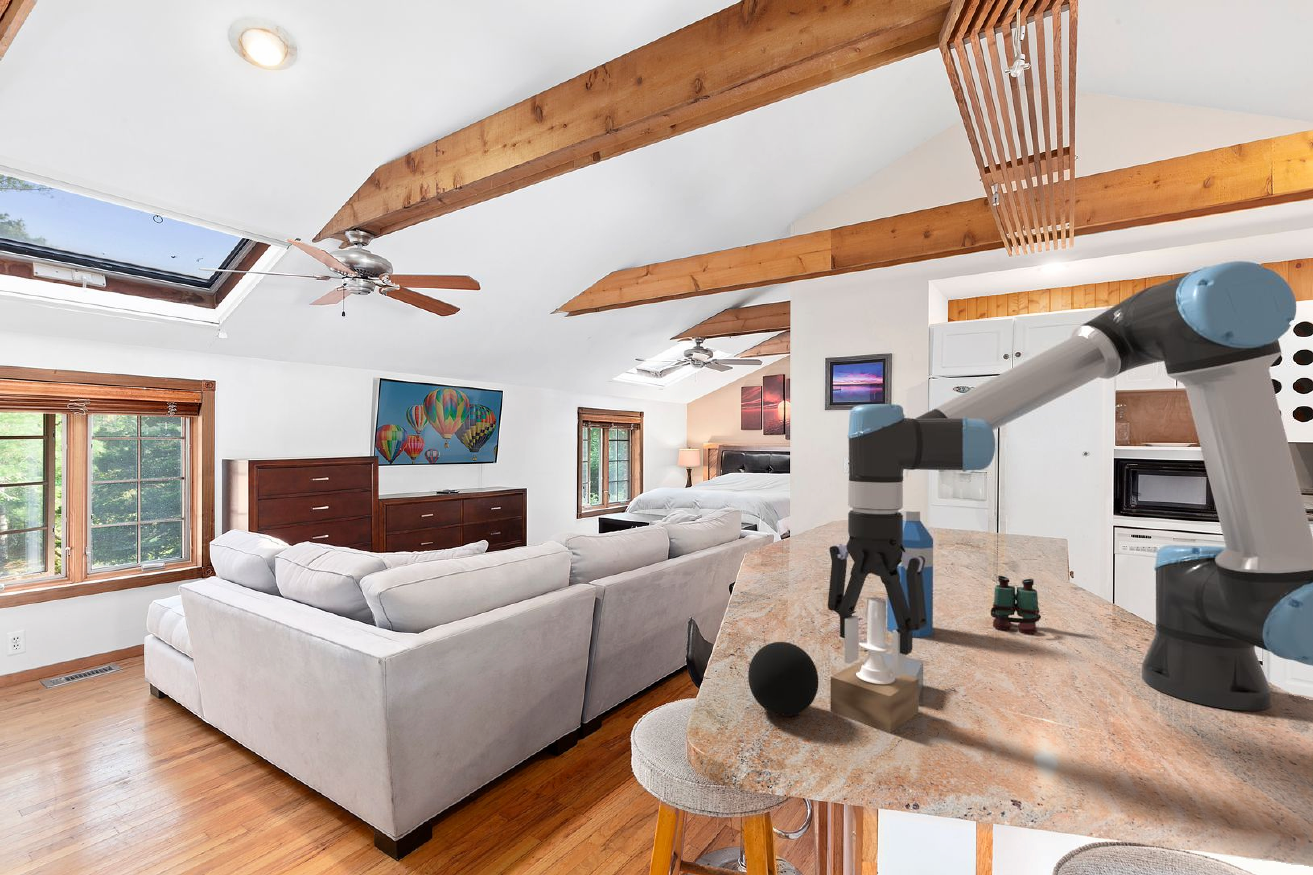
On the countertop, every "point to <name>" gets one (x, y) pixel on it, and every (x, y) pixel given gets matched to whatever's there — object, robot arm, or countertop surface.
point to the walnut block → (874, 699)
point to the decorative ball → (783, 678)
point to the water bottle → (922, 545)
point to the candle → (875, 644)
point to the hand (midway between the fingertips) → (874, 667)
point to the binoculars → (1015, 606)
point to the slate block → (908, 667)
